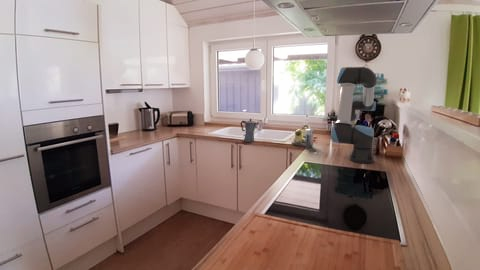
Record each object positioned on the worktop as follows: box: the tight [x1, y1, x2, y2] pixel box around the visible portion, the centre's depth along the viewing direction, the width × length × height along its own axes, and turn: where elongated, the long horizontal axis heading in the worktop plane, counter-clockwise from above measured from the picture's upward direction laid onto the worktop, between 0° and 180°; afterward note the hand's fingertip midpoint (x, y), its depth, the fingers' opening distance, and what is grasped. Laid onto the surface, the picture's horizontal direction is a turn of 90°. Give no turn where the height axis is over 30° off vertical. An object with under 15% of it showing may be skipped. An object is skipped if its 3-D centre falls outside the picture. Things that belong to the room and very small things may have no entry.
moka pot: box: [240, 118, 258, 143], centre depth 241 cm, size 10×15×20 cm, turn 78°
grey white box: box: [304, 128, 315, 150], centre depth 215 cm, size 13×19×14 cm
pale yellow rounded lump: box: [291, 128, 306, 147], centre depth 233 cm, size 10×10×13 cm
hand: (323, 119), depth 209 cm, fingers closed
